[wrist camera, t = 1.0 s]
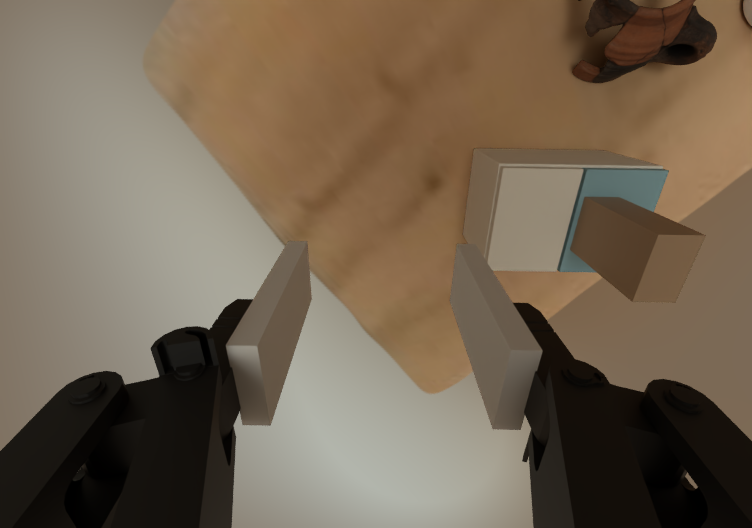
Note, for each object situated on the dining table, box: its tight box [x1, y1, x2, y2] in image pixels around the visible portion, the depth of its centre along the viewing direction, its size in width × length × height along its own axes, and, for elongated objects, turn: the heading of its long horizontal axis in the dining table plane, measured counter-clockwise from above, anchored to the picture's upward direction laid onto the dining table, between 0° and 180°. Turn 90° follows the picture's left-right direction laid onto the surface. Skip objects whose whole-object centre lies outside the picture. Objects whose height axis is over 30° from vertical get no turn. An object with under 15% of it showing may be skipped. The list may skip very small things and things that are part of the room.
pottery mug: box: [572, 0, 717, 83], centre depth 31 cm, size 12×10×8 cm
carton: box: [463, 148, 663, 272], centre depth 36 cm, size 14×10×10 cm
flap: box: [557, 168, 706, 303], centre depth 28 cm, size 7×10×10 cm
